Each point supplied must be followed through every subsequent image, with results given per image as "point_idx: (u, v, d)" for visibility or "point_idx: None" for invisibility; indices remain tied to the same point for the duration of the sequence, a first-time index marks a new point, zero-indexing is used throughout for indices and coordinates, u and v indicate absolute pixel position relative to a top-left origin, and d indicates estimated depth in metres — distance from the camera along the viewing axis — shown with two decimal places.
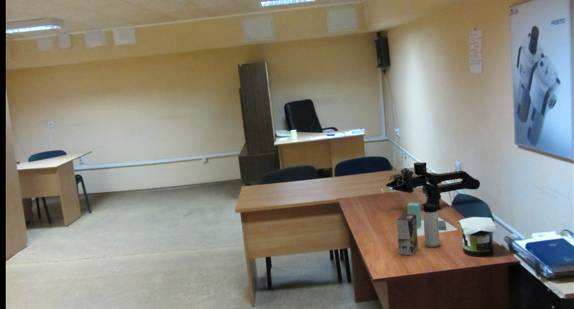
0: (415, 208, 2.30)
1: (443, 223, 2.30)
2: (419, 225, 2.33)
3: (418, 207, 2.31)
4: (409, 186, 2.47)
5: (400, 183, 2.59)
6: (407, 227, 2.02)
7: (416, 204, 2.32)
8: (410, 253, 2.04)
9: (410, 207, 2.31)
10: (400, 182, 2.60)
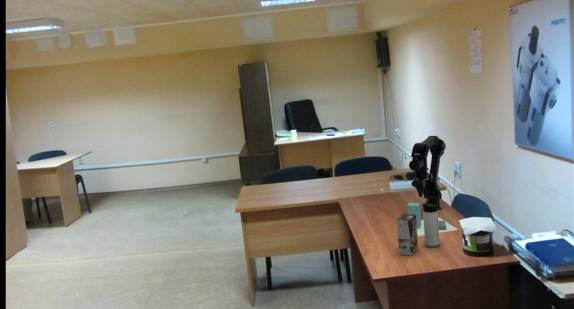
0: (415, 208, 2.30)
1: (443, 223, 2.30)
2: (419, 225, 2.33)
3: (418, 207, 2.31)
4: (416, 185, 2.40)
5: None
6: (407, 227, 2.02)
7: (416, 204, 2.32)
8: (410, 253, 2.04)
9: (410, 207, 2.31)
10: None
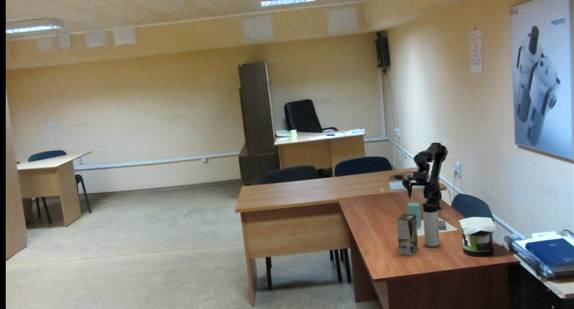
0: (415, 208, 2.30)
1: (443, 223, 2.30)
2: (419, 225, 2.33)
3: (418, 207, 2.31)
4: (438, 185, 2.36)
5: (415, 185, 2.44)
6: (407, 227, 2.02)
7: (416, 204, 2.32)
8: (410, 253, 2.04)
9: (410, 207, 2.31)
10: (414, 184, 2.44)
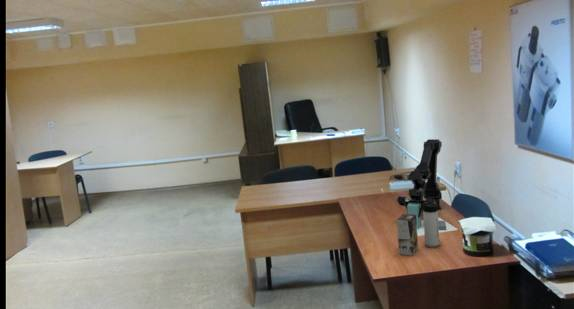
0: (415, 208, 2.30)
1: (443, 223, 2.30)
2: (419, 225, 2.33)
3: (418, 207, 2.31)
4: (434, 203, 2.30)
5: (410, 202, 2.37)
6: (407, 227, 2.02)
7: (416, 204, 2.32)
8: (410, 253, 2.04)
9: (410, 207, 2.31)
10: (409, 201, 2.37)
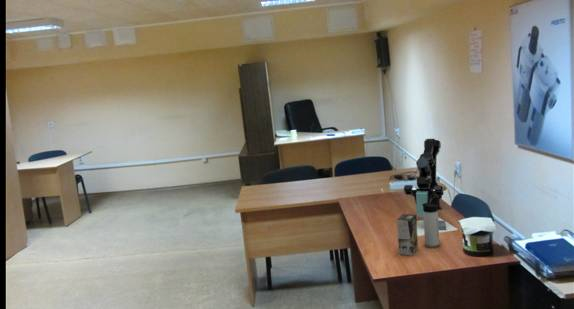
0: (424, 196, 2.27)
1: (443, 223, 2.30)
2: None
3: (427, 195, 2.28)
4: (442, 190, 2.29)
5: None
6: (407, 227, 2.02)
7: (424, 192, 2.29)
8: (410, 253, 2.04)
9: (419, 196, 2.28)
10: (416, 190, 2.34)
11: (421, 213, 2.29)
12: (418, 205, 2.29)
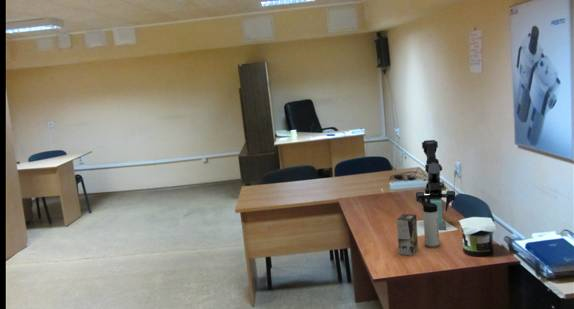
0: (439, 204, 2.26)
1: (443, 223, 2.30)
2: None
3: None
4: None
5: (429, 197, 2.33)
6: (407, 227, 2.02)
7: (438, 200, 2.28)
8: (410, 253, 2.04)
9: None
10: (428, 196, 2.33)
11: None
12: None
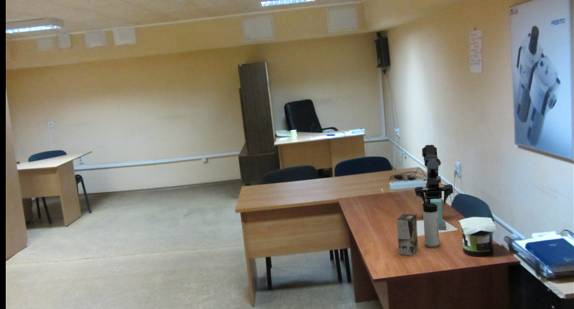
0: (439, 204, 2.26)
1: (443, 223, 2.30)
2: None
3: None
4: (452, 189, 2.37)
5: (428, 191, 2.42)
6: (407, 227, 2.02)
7: (438, 200, 2.28)
8: (410, 253, 2.04)
9: None
10: (427, 191, 2.42)
11: None
12: None
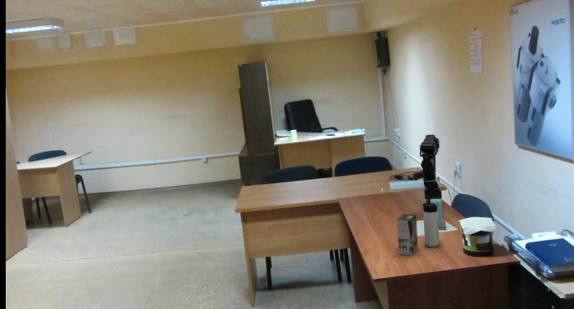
0: (439, 204, 2.26)
1: (443, 223, 2.30)
2: None
3: None
4: (428, 184, 2.35)
5: None
6: (407, 227, 2.02)
7: (438, 200, 2.28)
8: (410, 253, 2.04)
9: None
10: None
11: None
12: None
